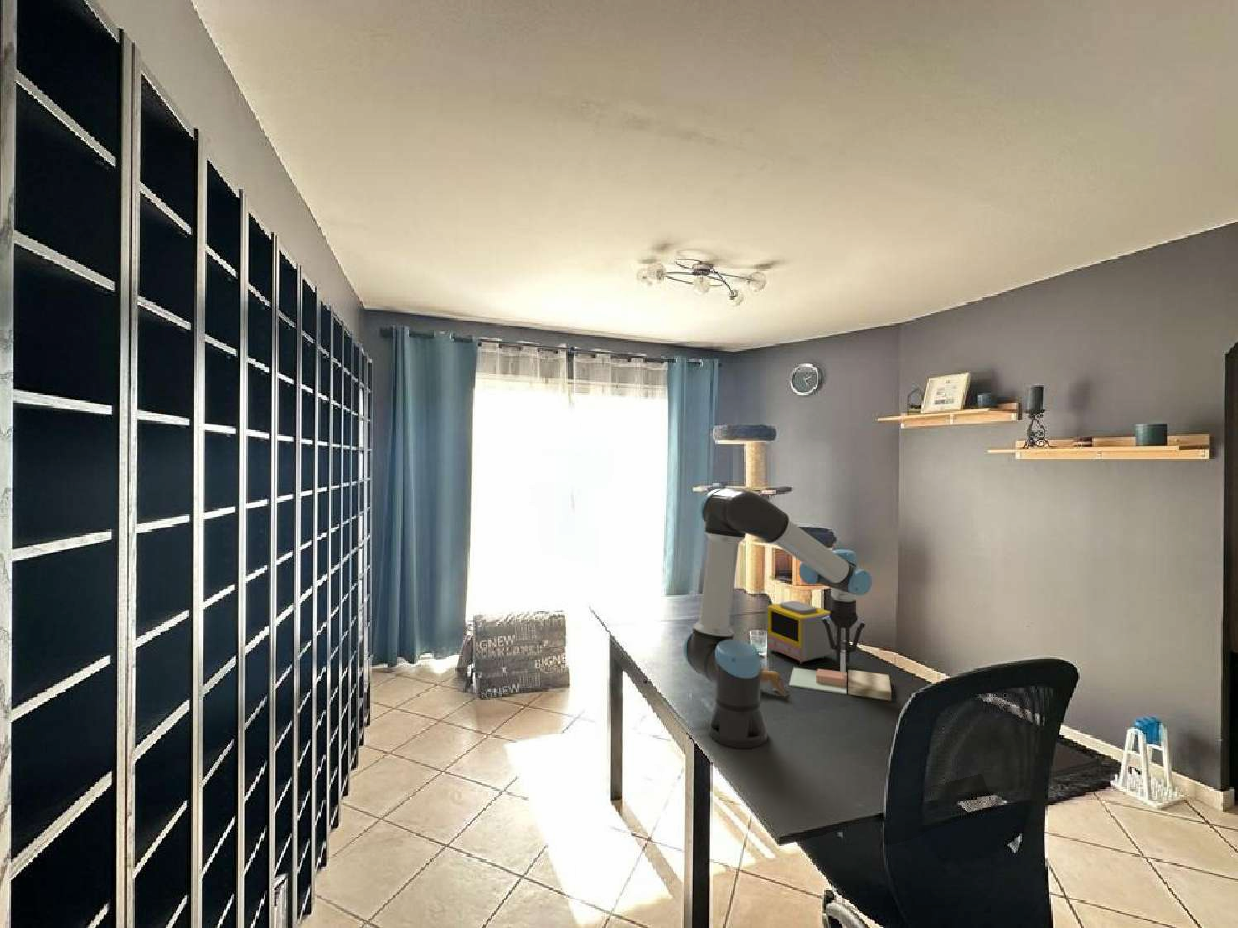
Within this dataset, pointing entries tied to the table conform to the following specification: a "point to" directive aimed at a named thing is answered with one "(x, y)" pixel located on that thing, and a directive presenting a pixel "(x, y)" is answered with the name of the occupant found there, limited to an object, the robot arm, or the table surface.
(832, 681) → the block
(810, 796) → the table surface
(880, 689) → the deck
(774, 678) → the lion figurine
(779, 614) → the alarm clock
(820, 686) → the mat
